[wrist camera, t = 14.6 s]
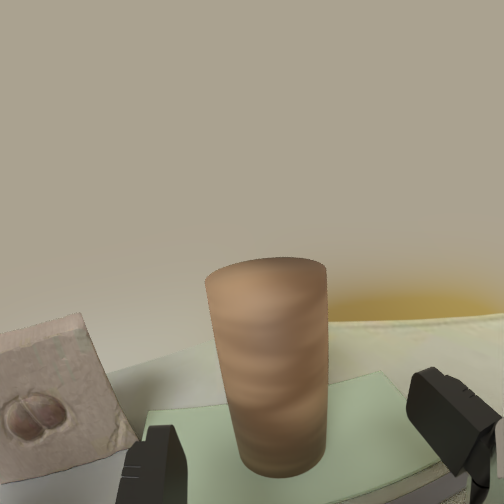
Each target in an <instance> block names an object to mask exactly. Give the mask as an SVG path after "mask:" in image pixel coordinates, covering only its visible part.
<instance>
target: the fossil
mask: <svg viewBox="0 0 504 504" xmlns="http://www.w3.org/2000/svg"><path fill="white" fill-rule="evenodd" d="M135 441H139V439H138V437H137V436H136V434H135V432H134V430H133V429H132V427H131V425H130V424H129V422H128V420H127V418H126V416H125V414H124V412H123V411H122V409H121V407H120V405H119V403H118V400H117V398H116V396H115V394H114V391H113V389H112V387H111V384H110V382H109V380H108V378H107V376H106V373H105V371H104V369H103V367H102V364H101V362H100V360H99V358H98V355H97V353H96V351H95V348H94V345H93V343H92V341H91V338H90V336H89V333H88V331H87V328H86V325H85V323H84V320H83V318H82V315H81V313H74V314H70V315H67V316H65V317H63V318H58V319H55V320H51V321H46V322H44V323H40V324H36V325H33V326H30V327H27V328H23V329H17V330H13V331H9V332H5V333H2V334H0V484H4V483H9V482H15V481H21V480H25V479H31V478H36V477H40V476H46V475H48V474H51V473H55V472H59V471H64V470H67V469H70V468H72V467H75V466H80V465H83V464H87V463H90V462H93V461H96V460H98V459H103V458H106V457H108V456H111V455H113V454H114V453H116V452H117V451H120V450H124V449H128V448H131V446H132V445H133V444H134V442H135Z"/></svg>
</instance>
